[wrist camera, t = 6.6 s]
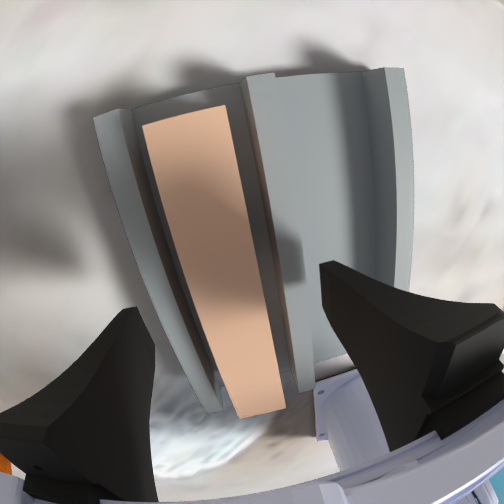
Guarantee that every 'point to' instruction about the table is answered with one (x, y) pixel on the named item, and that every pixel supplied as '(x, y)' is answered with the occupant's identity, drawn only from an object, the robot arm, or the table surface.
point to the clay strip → (217, 251)
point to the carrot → (5, 465)
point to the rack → (280, 204)
